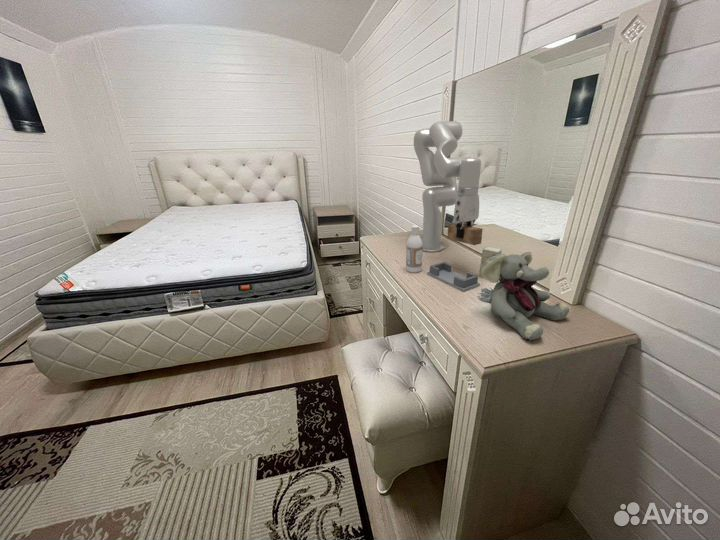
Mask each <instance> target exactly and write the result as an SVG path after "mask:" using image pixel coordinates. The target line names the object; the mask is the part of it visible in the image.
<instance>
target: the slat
mask: <svg viewBox="0 0 720 540" xmlns="http://www.w3.org/2000/svg"><path fill="white" fill-rule="evenodd" d="M463 229H464V236H463V239H461V238H457V237H456V233H457V228H456V226H455V225H454V224H453V223H451V224H448V225H447V240H452V241H455V242H459V243H463V244H467V245H472V246H477V245H481V244H482V242H483V241H482V239H483V230H484V229H483V228H480V227H475V226H473V227H471V226H466V224H464V226H463Z"/></svg>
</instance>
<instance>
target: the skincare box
mask: <svg viewBox="0 0 720 540" xmlns="http://www.w3.org/2000/svg"><path fill="white" fill-rule="evenodd" d="M502 251H503V249H501V248H497V247H491V246H485V247H484V248H483V249H482V253H481V259H480V265H479V272H478V277H479V278H480V277H481V278H483V279H485V278H484V277H483V276H482V273H481V271H482V268H483V265H484V263H485V262H486V261H487V260H488V259H489V258H491V257H493V256H496V255H498V254H502Z"/></svg>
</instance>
